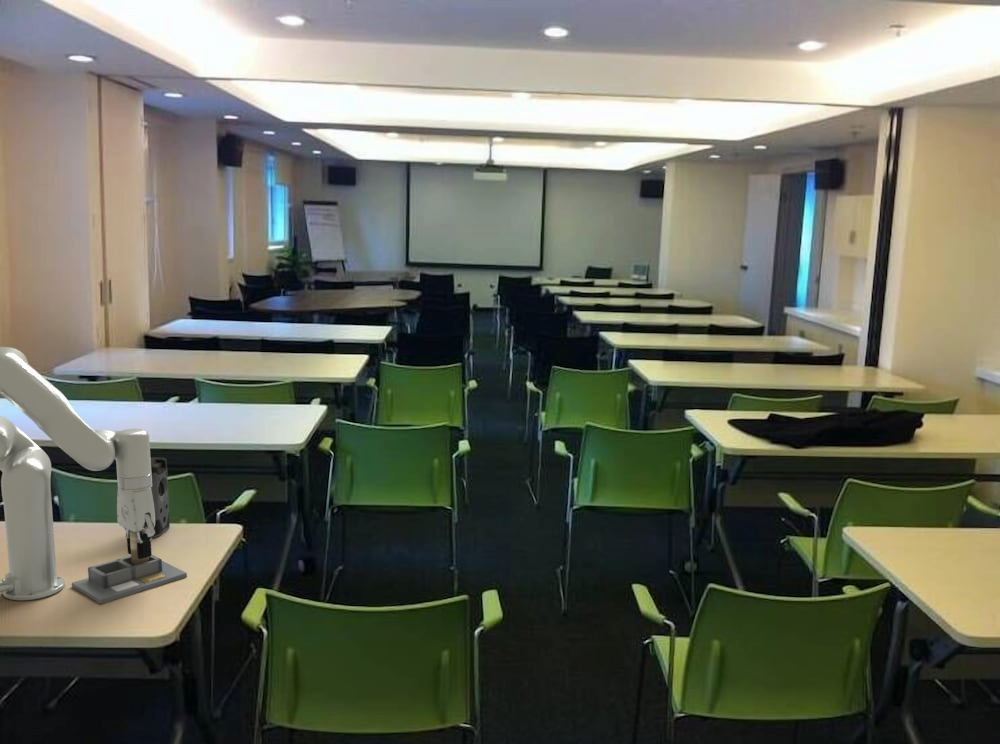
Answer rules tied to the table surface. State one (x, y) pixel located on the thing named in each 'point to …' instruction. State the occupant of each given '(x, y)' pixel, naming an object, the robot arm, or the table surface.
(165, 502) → the electronic device
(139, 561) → the birch plug
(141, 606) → the table surface
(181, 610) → the table surface
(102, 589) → the charging dock
